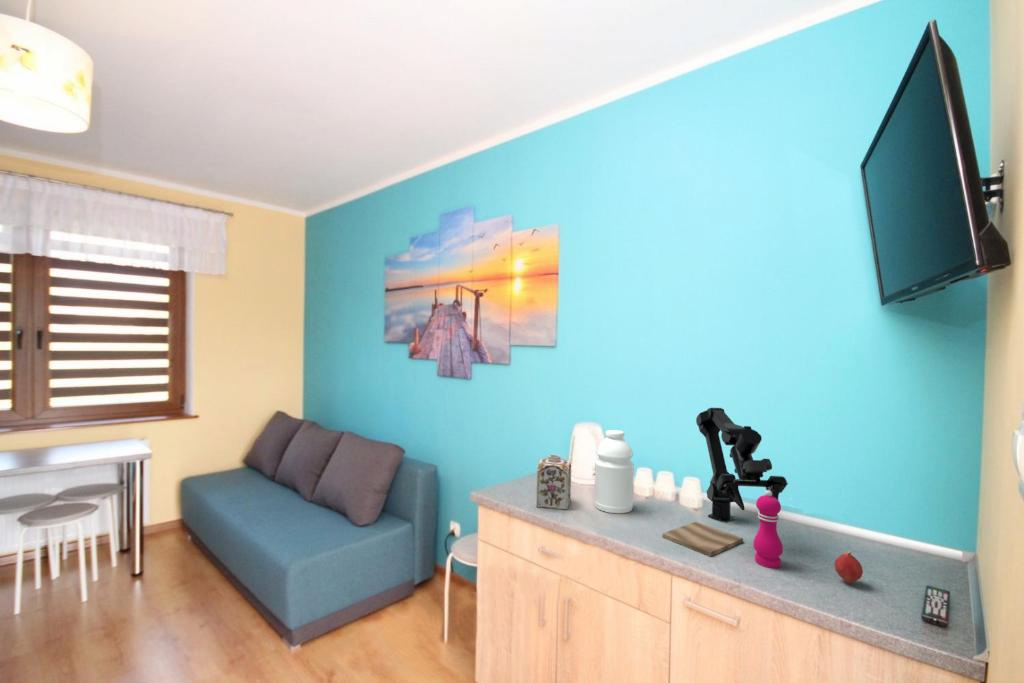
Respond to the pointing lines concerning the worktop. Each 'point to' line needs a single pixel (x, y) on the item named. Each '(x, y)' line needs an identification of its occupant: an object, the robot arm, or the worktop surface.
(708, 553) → the tan cloth
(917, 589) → the worktop surface
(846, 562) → the onion
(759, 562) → the pepper mill
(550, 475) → the decorative jar
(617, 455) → the bottle
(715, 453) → the robot arm
